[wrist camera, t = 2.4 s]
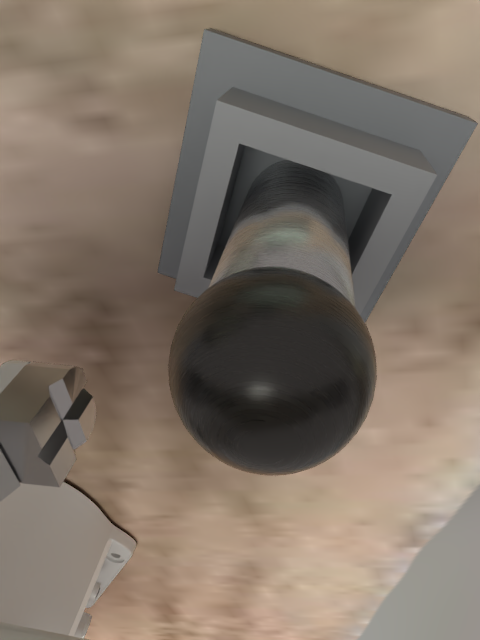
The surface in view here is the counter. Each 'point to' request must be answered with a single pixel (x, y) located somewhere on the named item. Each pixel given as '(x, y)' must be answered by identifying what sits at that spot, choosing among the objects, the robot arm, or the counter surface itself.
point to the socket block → (304, 157)
